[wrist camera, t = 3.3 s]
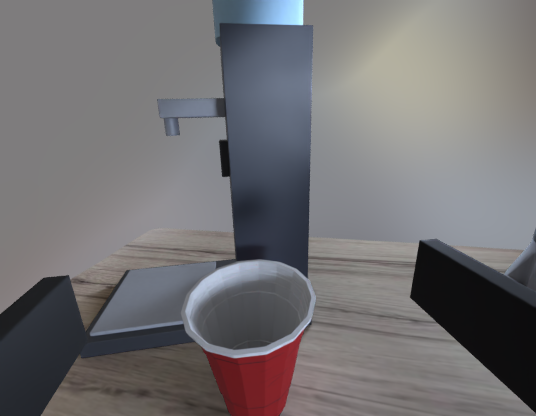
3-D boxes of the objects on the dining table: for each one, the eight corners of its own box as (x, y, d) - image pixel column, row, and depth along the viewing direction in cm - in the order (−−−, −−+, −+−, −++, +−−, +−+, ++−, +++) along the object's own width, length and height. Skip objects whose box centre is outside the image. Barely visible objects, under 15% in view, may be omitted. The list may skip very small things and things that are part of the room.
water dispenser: (287, 263, 49) (285, -52, 35) (315, 324, 34) (332, -188, 19) (128, 280, 45) (51, -68, 31) (80, 358, 30) (-117, -255, 15)
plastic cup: (171, 423, 23) (148, 311, 19) (241, 338, 32) (234, 250, 28) (280, 504, 18) (277, 373, 14) (327, 376, 27) (333, 275, 23)
